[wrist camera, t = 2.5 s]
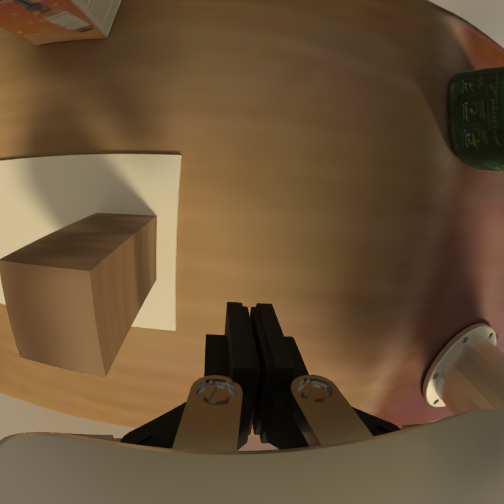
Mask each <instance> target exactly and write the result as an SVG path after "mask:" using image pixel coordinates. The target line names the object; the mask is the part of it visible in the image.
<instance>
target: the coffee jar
mask: <svg viewBox="0 0 504 504" xmlns="http://www.w3.org/2000/svg"><path fill="white" fill-rule="evenodd" d="M448 107H449V128H450V138H451V144H452V147H453V149H454V151H455V153H456V154H457V156H458V157H459V159H460V160H461V161H462V162H464V163H465V164H467V165H469V166H471V167H474V168H477V169H481V170H490V171H504V67H498V68H487V69H477V70H470V71H465V72H461V73H458V74H455V75H454V76H453V78H452V79H451V81H450V85H449V105H448Z"/></svg>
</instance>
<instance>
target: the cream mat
mask: <svg viewBox="0 0 504 504" xmlns="http://www.w3.org/2000/svg"><path fill="white" fill-rule="evenodd" d="M181 160H182V155H161V154H89V155H65V156H48V157H35V158H23V159H13V160H4V161H0V259H1V258H3V257H5V256H7V255H9V254H10V253H12V252H14V251H16V250H18V249H20V248H22V247H24V246H26V245H28V244H30V243H32V242H34V241H36V240H38V239H40V238H42V237H44V236H46V235H48V234H50V233H53V232H55V231H57V230H59V229H61V228H63V227H66V226H68V225H70V224H72V223H74V222H77V221H79V220H81V219H83V218H86V217H88V216H90V215H93V214H95V213H111V214H132V215H152V216H157V243H156V281H155V283H154V285H153V287H152V288H151V290H150V292H149V294H148V296H147V298H146V299H145V301H144V303H143V305H142V307H141V309H140V310H139V312H138V314H137V316H136V318H135V320H134V322H133V324H132V326H134V327H143V328H152V329H162V330H173V331H176V249H177V222H178V203H179V187H180V173H181ZM0 303H1V304H5V305H6V303H5V298H4V293H3V288H2V283H1V277H0Z"/></svg>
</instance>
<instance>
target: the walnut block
mask: <svg viewBox="0 0 504 504" xmlns="http://www.w3.org/2000/svg"><path fill="white" fill-rule="evenodd" d="M156 243H157V216H152V215H132V214H111V213H95V214H93V215H90V216H88V217H86V218H83V219H81V220H79V221H77V222H74V223H72V224H70V225H68V226H66V227H63V228H61V229H59V230H57V231H55V232H53V233H50V234H48V235H46V236H44V237H42V238H40V239H38V240H36V241H34V242H32V243H30V244H28V245H26V246H24V247H22V248H20V249H18V250H16V251H14V252H12V253H10V254H9V255H7V256H5V257H3V258H1V259H0V277H1V283H2V288H3V293H4V298H5V303H6V307H7V312H8V316H9V320H10V324H11V327H12V331H13V335H14V338H15V342H16V345H17V348H18V351H19V355H20V357H22V358H26V359H29V360H33V361H36V362H40V363H44V364H47V365H51V366H55V367H59V368H64V369H68V370H72V371H77V372H81V373H86V374H91V375H96V376H102V377H106V376H107V374H108V371H109V369H110V367H111V365H112V363H113V361H114V359H115V357H116V355H117V353H118V351H119V349H120V347H121V345H122V343H123V341H124V339H125V337H126V335H127V333H128V331H129V329H130V328H131V326H132V324H133V322H134V320H135V318H136V316H137V314H138V312H139V310H140V309H141V307H142V305H143V303H144V301H145V299H146V298H147V296H148V294H149V292H150V290H151V288H152V287H153V285H154V283H155V281H156Z"/></svg>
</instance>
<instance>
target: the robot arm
mask: <svg viewBox="0 0 504 504" xmlns="http://www.w3.org/2000/svg"><path fill="white" fill-rule="evenodd" d="M496 342H497V340H496V334H495V331H494V330H493V329H492V328H491V327H490V326H488V325H487V324H484V323H478V324H474V325H471V326H469V327H467V328H466V329H464V330H462V331H461V332H460V333H458V334H457V335H456V336H455V337H454V338H453V339H451V340H450V341H449V342H448V343H447V345H446V346H445V347H444V348H443V349H442V350H441V352H440V353H439V354H438V356H437V357H436V358H435V360H434V361H433V363H432V365H431V366H430V368H429V370H428V372H427V374H426V377H425V380H424V384H423V396H424V398H425V400H426V401H427V402H428V403H429V404H430V405H431V406H434V407H442V406H447V408H448V409H449V410H450V411H451V413H452V414H453V415H452V416H449V417H446V418H442V419H439V420H435V421H432V422H429V423H425V424H415V425H401V427H400V428H398V427H397V426H396V425H394V424H392V423H390V422H387V421H385V420H382V419H380V418H377V417H375V416H372V415H370V414H368V413H365V412H363V411H360V410H358V409H356V408H353V407H351V405H350V404H349V403H348V401H347V400H346V399H345V397H344V396H343V395H342V393H341V392H340V391H339V389H338V388H337V386H336V385H335V384H334V383H333V382H332V381H330V380H329V379H327V378H325V377H322V376H318V375H309V373H308V371H307V369H306V366H305V364H304V361H303V359H302V357H301V354H300V352H299V349H298V347H297V345H296V342H295V340H294V338H293V337H284V335H283V333H282V330H281V327H280V325H279V322H278V319H277V316H276V314H275V311H274V308H273V306H272V304H261V303H257V305H256V307H251V312H250V317H249V312H248V307H243V306H242V303H237V302H227V310H226V324H225V335H210V334H206V347H205V373H204V377H202V378H200V379H198V380H197V381H195V382H194V383H193V385H192V387H191V389H190V393H189V396H188V399H187V402H185V403H183V404H182V405H180V406H178V407H176V408H174V409H173V410H171V411H169V412H167V413H165V414H163V415H162V416H160V417H158V418H156V419H154V420H152V421H150V422H148V423H147V424H145V425H143V426H141V427H139V428H137V429H135V430H133V431H131V432H129V433H128V434H126V435H125V436H124V437H123V438H121V439H120V438H115V439H114V438H113V435H86V434H67V433H50V432H30V433H19V434H14V435H10V436H8V437H5V438H4V439H2V440H0V504H504V353H503V352H501V351H500V350H499V349H498V348H496ZM252 423H253V430H254V434H255V435H260V439H261V443H270V444H272V445H273V446H275V450H261V451H237V450H238V449H240V448H241V447H242V446H243V445H245V444H246V443H247V440H248V435H250V433H251V427H252Z"/></svg>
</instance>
